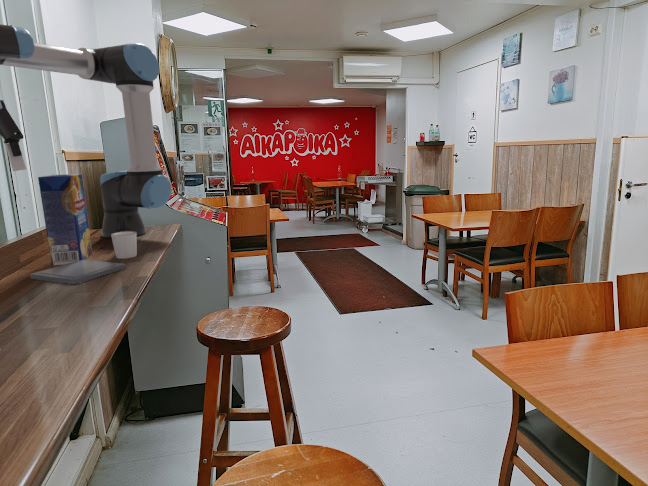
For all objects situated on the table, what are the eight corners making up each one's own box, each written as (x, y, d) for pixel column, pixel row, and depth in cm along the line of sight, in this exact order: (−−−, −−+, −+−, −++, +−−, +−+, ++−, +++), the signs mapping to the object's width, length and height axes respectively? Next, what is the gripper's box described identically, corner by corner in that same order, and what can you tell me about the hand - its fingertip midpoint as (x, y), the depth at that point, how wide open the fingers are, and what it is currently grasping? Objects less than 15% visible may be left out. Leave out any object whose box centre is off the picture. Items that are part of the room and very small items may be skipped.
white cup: (121, 260, 121) (118, 236, 119) (109, 256, 125) (106, 233, 123) (143, 255, 126) (141, 232, 125) (131, 252, 130) (129, 230, 129)
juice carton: (81, 263, 118) (69, 176, 113) (51, 265, 116) (37, 177, 111) (92, 253, 129) (81, 174, 124) (65, 255, 127) (53, 174, 122)
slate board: (84, 263, 118) (83, 259, 117) (125, 268, 112) (125, 263, 112) (30, 278, 104) (30, 273, 104) (74, 284, 99) (73, 279, 98)
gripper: (-73, 88, 102) (-42, 175, 109) (-13, 74, 92) (18, 171, 98) (-38, 88, 109) (-10, 170, 115) (22, 75, 98) (49, 166, 105)
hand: (3, 171), depth 107 cm, fingers open, 13 cm apart
